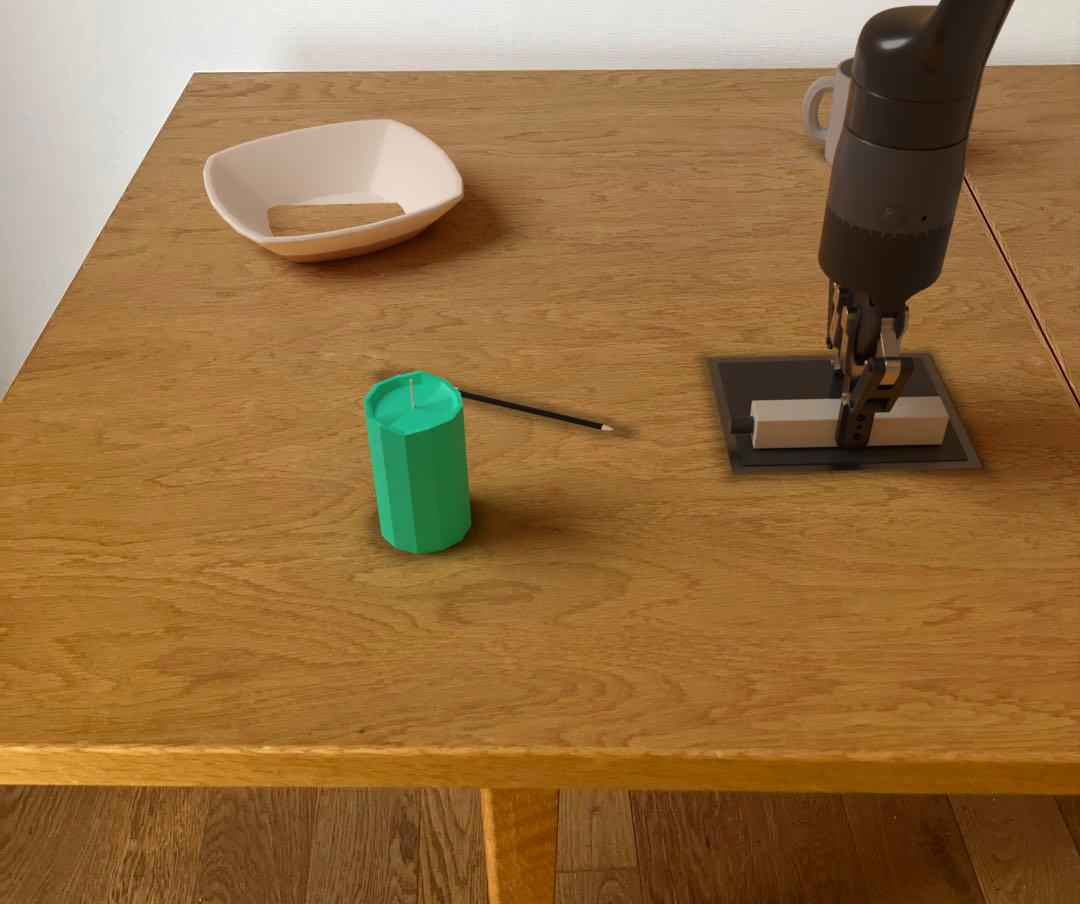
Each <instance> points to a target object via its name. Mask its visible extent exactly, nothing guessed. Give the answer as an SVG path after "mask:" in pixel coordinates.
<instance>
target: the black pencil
mask: <svg viewBox="0 0 1080 904" xmlns="http://www.w3.org/2000/svg"><path fill="white" fill-rule="evenodd" d="M454 387H455V388H456V389H457V390H458V391H459V392H460V393H461V398H464V399H468V400H472V401H477V402H481V403H485V404H489V405H494V406H498V407H501V408H507V409H511V410H515V411H519V412H524V413H528V414H532V415H536V416H540V417H545V418H548V419H553V420H557V421H561V422H566V423H570V424H575V425H579V426H583V427H588V428H592V429H596V430H599V431H613V430H614V428H612V427H610V426H608V425H606V424H604V423H600V422H596V421H593V420H589V419H583V418H579V417H574V416H571V415H566V414H562V413H558V412H554V411H549V410H546V409H542V408H541V409H540V408H536V407H531V406H527V405H523V404H520V403H515V402H510V401H506V400H502V399H497V398H494V397H490V396H485V395H481V394H476V393H472V392H468V391H463V390H459V389H460V388H459V387H456V386H454Z"/></svg>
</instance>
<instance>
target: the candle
mask: <svg viewBox="0 0 1080 904" xmlns="http://www.w3.org/2000/svg"><path fill="white" fill-rule="evenodd" d="M455 387H456V386H454V385H453V384H451V382H450V381H448V380H447V379H446V378H444V377H442V376H441V377H440V376H437V375H435V374H432V373H430V372H427V371H424V370H417V371H412V372H408V373H402V374H396V375H393V376H391V377H389V378H386V379H384V380H381V381H379V382H377V383H375V384H374V385H373V386H372V388H371V389H370V390H369V392H368V393H367V394H366V395H365V397H364V398H363V405H364V417H365V424H366V432H367V438H368V446H369V452H370V461H371V466H372V467H371V468H372V474H373V483H374V489H375V498H376V503H377V510H378V519H379V525H380V533H381V536H382V538H384V539H385V540H386V541H387V542H388V543H389V544H390V545H391V546H393V547H394V549H396V550H401V551H404V552H405V551H406V552H409V553H413V554H417V555H418V554H419V555H420V554H426V553H435V552H442V551H444V550H446V549H448V548H450V547H452V546H454V545H455V544H458V543H460V542H461V541H463V539H464V537H465V536H466V534H467V532H468V531H469V530H470V528H471V526H472V514H471V513H472V512H471V503H470V502H471V500H470V485H469V471H468V459H467V456H468V455H467V443H466V428H465V427H466V426H465V415H464V404H463V399H462V398H463V397H461V393H460V392H459V391H460V390H459V389H458V390H459V391H458V390H457V389H456V388H455Z"/></svg>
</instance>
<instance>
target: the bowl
mask: <svg viewBox="0 0 1080 904" xmlns="http://www.w3.org/2000/svg"><path fill="white" fill-rule="evenodd" d="M459 171H460V170H459V169H458V167H457V166H456V164H455V163H454V161H453V160H452V159H451V158H450V156H449V155H448V154H447V152H446V151H445V150H444V149H442V147H440V146H439V145H438V144H436V143H435V142H434V141H433V140H431V139H430V138H428V137H427V136H426V135H424V134H423V133H422V132H419V131H418V130H417V129H415V128H414V127H412V126H409V125H407V124H404V123H402V122H399V121H397V120H395V119H390V118H387V119H386V118H385V119H360V120H351V121H343V122H336V123H329V124H324V125H316V126H312V127H305V128H300V129H299V128H298V129H294V130H290V131H286V132H281V133H277V134H273V135H268V136H263V137H260V138H257V139H253V140H250V141H246V142H243V143H239V144H235V145H233V146H230V147H228V148H225V149H222V150H221V151H218V152H215V153H213V154H211V155H209V156H208V158H207V159H206V161H205V165H204V168H203V172H202V175H203V180H204V182H203V183H204V186H205V191H206V193H207V196H208V198H209V201H210V204H211V205H212V207H213V208H214V209H215V211H216V212H217V213H218V214H219V216H220V217H221V218H222V219H223V220H224V221H225V222H226V223H227V224H228V225H229V226H230V227H231V228H233V229H234V230H235V231H236V232H237V233H238V234H239V235H242V236H243V237H244V238H247V239H248V240H251V241H252V242H254V243H256V244H258V245H259V246H261V247H263V248H265V249H267V250H269V251H271V252H273V253H274V254H277V255H279V256H280V257H282V258H284V259H286V260H288V261H290V262H293V263H297V264H307V263H309V264H310V263H320V262H327V261H335V260H343V259H347V258H353V257H357V256H363V255H366V254H370V253H374V252H377V251H380V250H385V249H387V248H390V247H393V246H396V245H399V244H401V243H404V242H407V241H409V240H411V239H413V238H415V237H417V236H418V235H420V234H421V233H422V232H423V231H424V230H426V229H427V228H428V227H429V226H431V225H432V224H433V223H434V222H436V221H437V220H438V219H440V218H441V217H443V215H444V214H446V213H447V212H448V211H450V210H451V209H452V208H453V207H454V206H456V205H457V204H458V203H459V202H460V201H461V200H463V199H464V197H465V192H464V191H465V189H464V188H465V186H464V184H465V183H464V178H463V177H462V175H461V173H460V172H459ZM361 204H363V205H365V204H398V205H399V206H400V207H401V209H402V210H403V212H404V213H405V214H402V215H398V216H394V217H391V218H387V219H384V220H379V221H375V222H371V223H367V224H361V225H357V226H352V227H347V228H341V229H336V230H331V231H323V232H316V233H309V234H302V235H285V236H282V235H281V236H274V234H273V232H272V229H271V227H270V222H269V217H268V213H269V210H270V209H272V208H274V207H279V206H280V207H281V206H282V207H283V206H316V205H317V206H319V205H320V206H321V205H323V206H324V205H325V206H326V205H361Z"/></svg>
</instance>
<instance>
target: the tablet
mask: <svg viewBox="0 0 1080 904" xmlns="http://www.w3.org/2000/svg"><path fill="white" fill-rule="evenodd" d="M831 355H832V354H823V355H822V354H821V355H820V354H819V355H782V356H781V355H780V356H777V355H776V356H743V357H741V356H740V357H739V356H738V357H706V358H705V361H706V366H707V370H708V374H709V375H708V376H709V378H710V383H711V389H712V392H713V396H714V402H715V406H716V410H717V414H718V420H719V424H720V428H721V433H722V437H723V443H724V446H725V451H726V455H727V460H728V464H729V469H730V473H731V476H762V475H763V476H764V475H765V476H766V475H767V476H768V475H801V474H802V475H803V474H805V475H806V474H808V475H809V474H840V473H841V474H843V473H883V472H884V473H885V472H919V471H920V472H921V471H960V470H983V469H984V467H983V465H982V462H981V461H980V458H979V456H978V455H977V452H976V450H975V448H974V446H973V444H972V441H971V439H970V437H969V434H968V432H967V430H966V428H965V427H964V424H963V422H962V420H961V418H960V416H959V413H958V412H957V409H956V408H955V405H954V403H953V401H952V399H951V397H950V395H949V393H948V391H947V388H946V386H945V384H944V382H943V380H942V378H941V376H940V373H939V371H938V370H937V369H938V368H936V365H935V363H934V361H933V359H932V357H931V355H930V353H929V352H906V353H904V352H903V353H901V352H899V357H912V359H913V363H914V370H913V373H912V375H911V377H910V379H909V381H908V382H907V384H906V386H905V387H904V389H903V391H902V392H901V394H900V396H899V397H934V396H939V397H940V398H941V400H942V402H943V404H944V406H945V409H946V411H947V413H948V415H949V419H948V423H947V427H946V430H945V434H944V438H943V442H942V444H932V445H888V446H865V447H862V448H840V447H801V448H757V449H755V448H754V447H753V443H752V439H751V435H750V433H746V434H730V433H729V429H728V420H729V417H730V416H750V414H751V406H752V401H759V400H803V399H828V397H829V392H830V386H831V381H832V375H833V373H836V372H832V371H831V366H830V359H831Z"/></svg>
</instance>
